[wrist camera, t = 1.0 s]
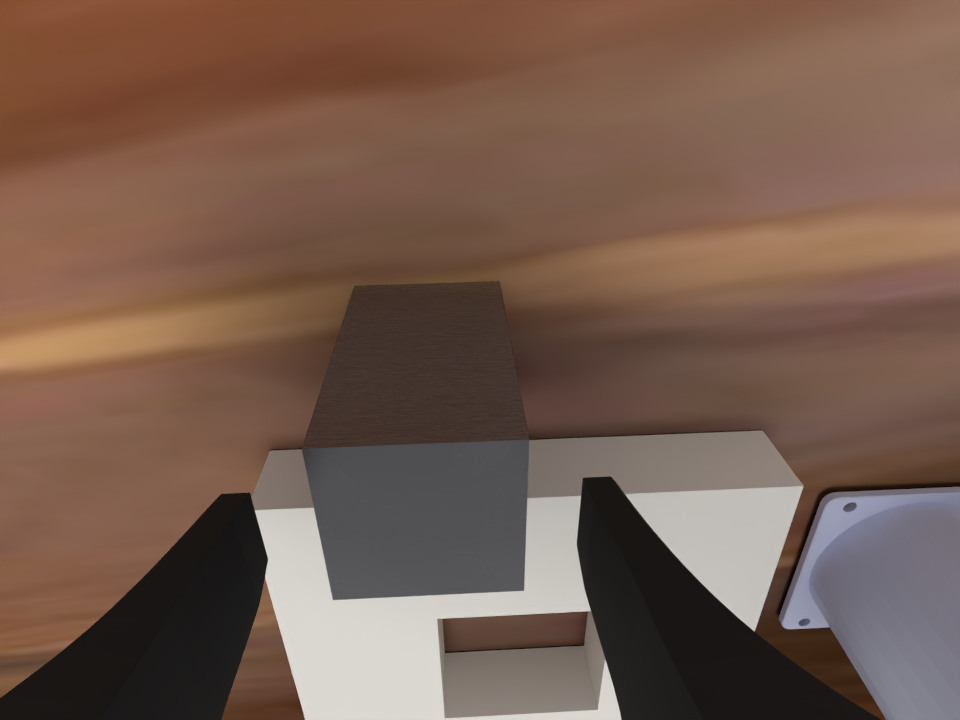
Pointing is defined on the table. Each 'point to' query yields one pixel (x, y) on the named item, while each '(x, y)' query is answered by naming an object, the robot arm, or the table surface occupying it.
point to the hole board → (547, 587)
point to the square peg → (421, 446)
